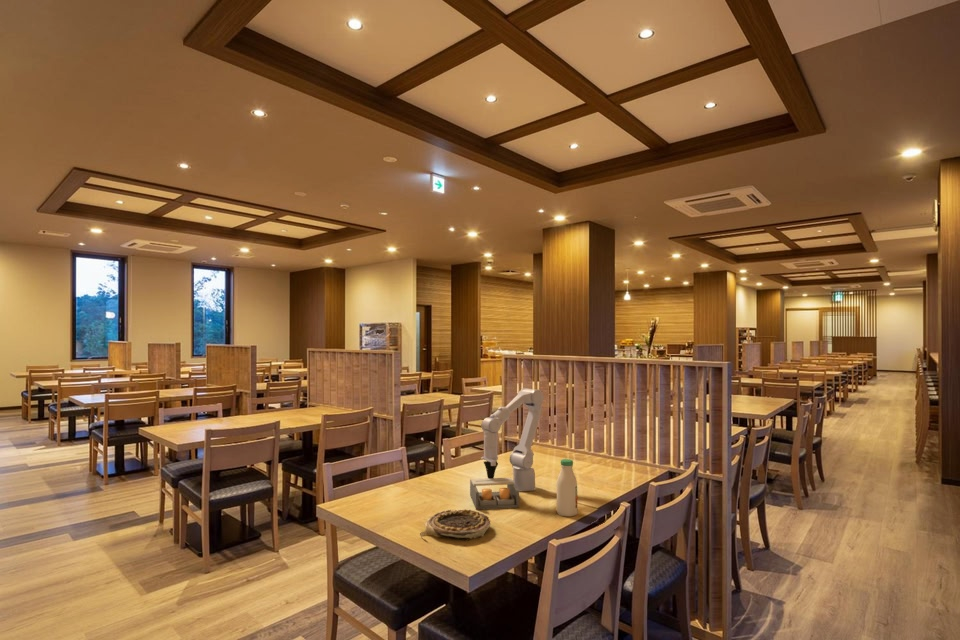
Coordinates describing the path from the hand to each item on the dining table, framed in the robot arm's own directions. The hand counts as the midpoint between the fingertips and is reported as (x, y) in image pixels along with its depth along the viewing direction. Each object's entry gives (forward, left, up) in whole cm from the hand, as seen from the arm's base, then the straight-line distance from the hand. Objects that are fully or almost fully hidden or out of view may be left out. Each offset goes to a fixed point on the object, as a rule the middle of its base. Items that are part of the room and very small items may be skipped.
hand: (490, 479), depth 210 cm
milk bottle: (-25, +25, -7) cm, 36 cm away
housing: (0, +7, -7) cm, 10 cm away
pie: (+17, +36, -8) cm, 41 cm away
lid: (0, +4, 0) cm, 4 cm away
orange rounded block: (-4, +12, -6) cm, 14 cm away
